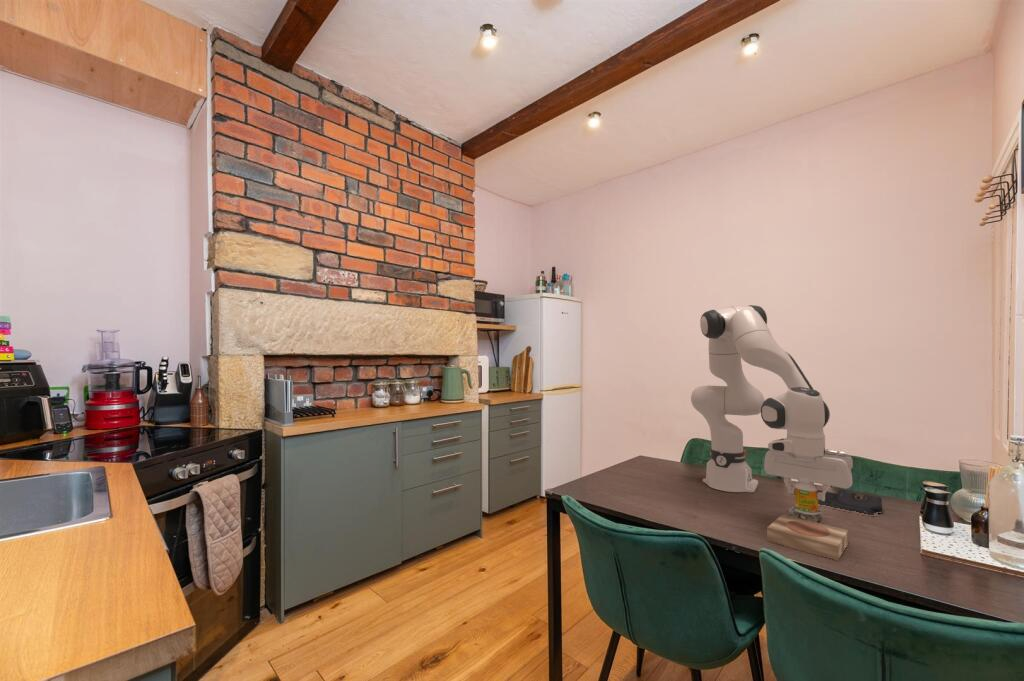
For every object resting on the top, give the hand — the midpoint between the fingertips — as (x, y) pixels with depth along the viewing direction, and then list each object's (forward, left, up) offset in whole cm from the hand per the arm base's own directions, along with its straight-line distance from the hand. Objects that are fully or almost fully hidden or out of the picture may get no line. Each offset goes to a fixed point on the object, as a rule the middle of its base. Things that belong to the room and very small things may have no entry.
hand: (806, 497), depth 121 cm
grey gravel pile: (-20, -5, -13) cm, 24 cm away
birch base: (0, 0, -13) cm, 13 cm away
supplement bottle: (0, 0, -4) cm, 4 cm away
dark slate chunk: (-44, 0, -13) cm, 46 cm away
